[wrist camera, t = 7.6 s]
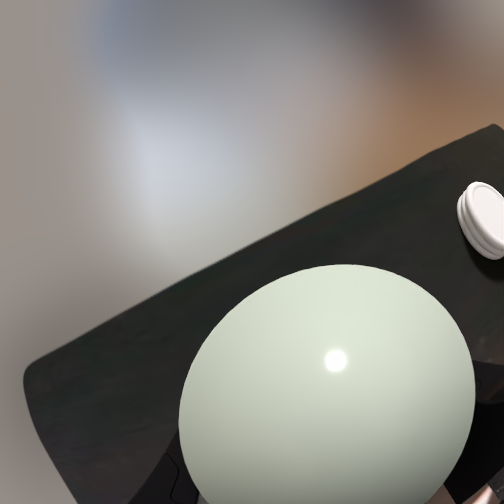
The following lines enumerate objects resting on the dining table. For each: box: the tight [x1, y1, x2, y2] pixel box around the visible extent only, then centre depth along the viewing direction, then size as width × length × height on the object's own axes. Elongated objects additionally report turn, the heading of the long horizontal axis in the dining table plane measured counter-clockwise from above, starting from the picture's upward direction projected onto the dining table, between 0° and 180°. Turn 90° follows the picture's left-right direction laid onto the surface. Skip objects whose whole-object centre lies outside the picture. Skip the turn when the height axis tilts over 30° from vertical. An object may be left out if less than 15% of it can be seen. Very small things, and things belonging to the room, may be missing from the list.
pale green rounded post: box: [179, 265, 475, 504], centre depth 9 cm, size 5×5×12 cm
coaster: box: [457, 182, 504, 260], centre depth 25 cm, size 10×10×4 cm
